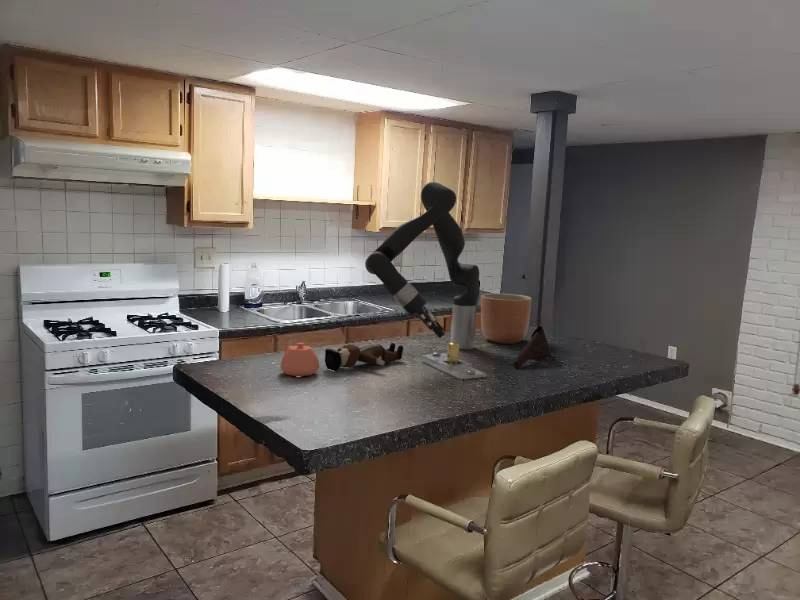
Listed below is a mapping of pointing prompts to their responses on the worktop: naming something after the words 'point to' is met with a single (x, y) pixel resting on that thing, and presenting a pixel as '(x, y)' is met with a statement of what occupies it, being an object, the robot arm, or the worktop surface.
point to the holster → (534, 348)
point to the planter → (505, 317)
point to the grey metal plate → (452, 366)
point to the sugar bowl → (299, 360)
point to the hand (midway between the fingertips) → (442, 333)
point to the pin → (452, 353)
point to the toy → (361, 355)
